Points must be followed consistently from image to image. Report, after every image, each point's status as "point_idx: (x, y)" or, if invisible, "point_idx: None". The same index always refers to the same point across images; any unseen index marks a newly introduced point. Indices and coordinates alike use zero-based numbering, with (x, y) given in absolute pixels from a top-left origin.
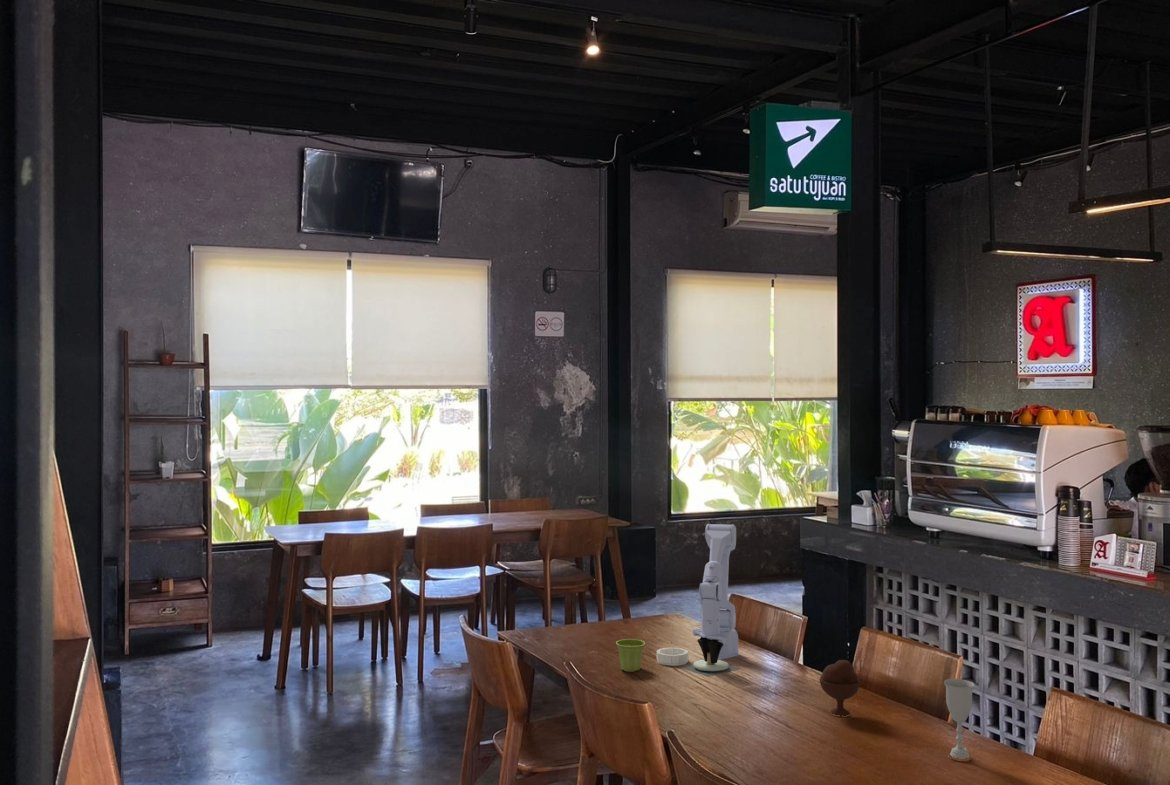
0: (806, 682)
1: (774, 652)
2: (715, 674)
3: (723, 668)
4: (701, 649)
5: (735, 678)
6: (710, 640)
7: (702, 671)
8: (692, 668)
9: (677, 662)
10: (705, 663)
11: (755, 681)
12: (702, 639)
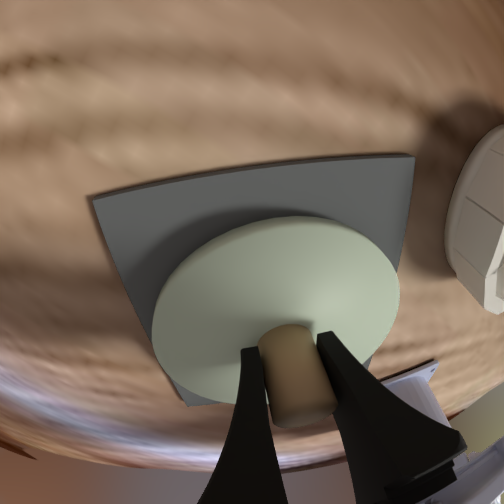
0: (13, 422)
1: (298, 466)
2: (121, 276)
3: (160, 359)
4: (391, 392)
5: (48, 329)
6: (363, 493)
7: None
8: (360, 216)
9: (476, 187)
10: (319, 321)
11: (5, 358)
12: (422, 476)
